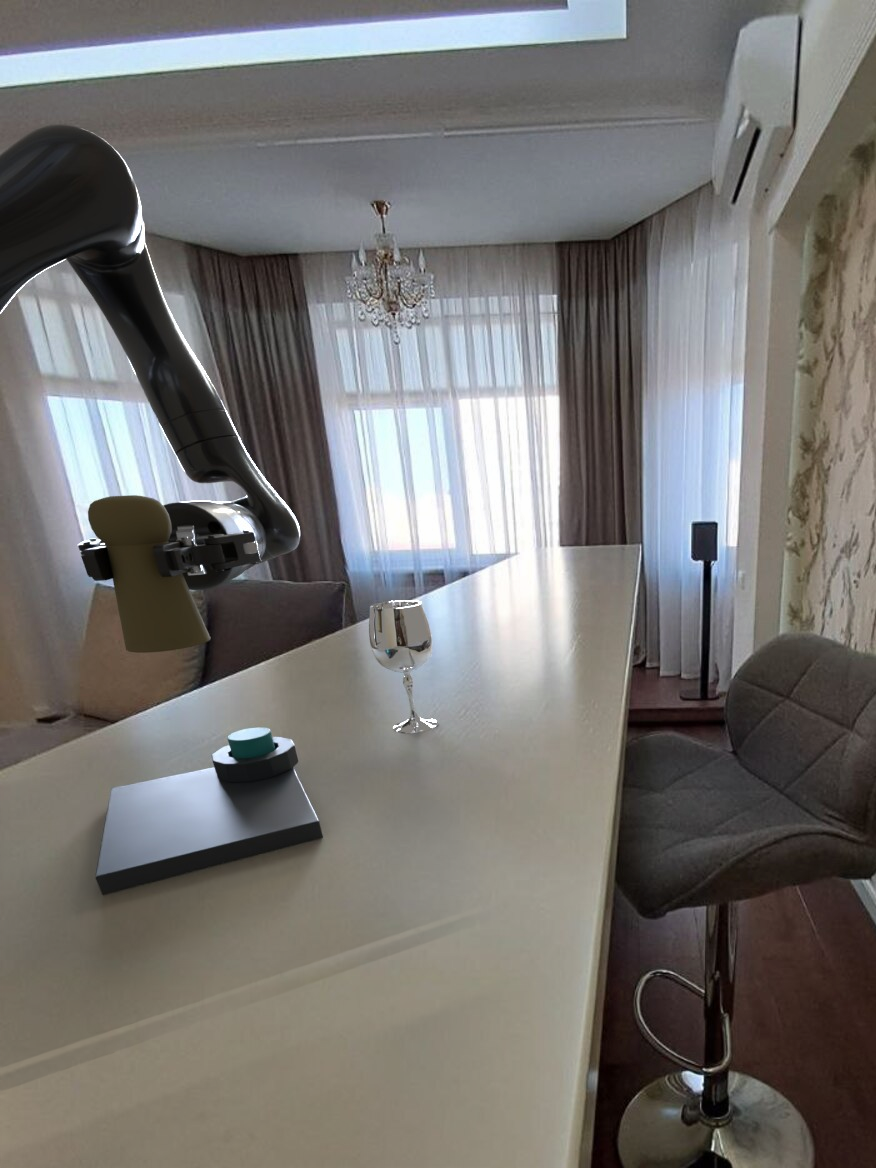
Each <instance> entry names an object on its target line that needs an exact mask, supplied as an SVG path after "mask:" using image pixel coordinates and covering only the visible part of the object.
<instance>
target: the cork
mask: <svg viewBox="0 0 876 1168" xmlns="http://www.w3.org/2000/svg"><path fill="white" fill-rule="evenodd" d="M163 505H164V504H162V503H161V501H159V500H158V499H156V498H153V497H150V496H149V497H148V496H144V495H137V494H135V495H134V494H133V495H112V496H111V495H110V496H106V497H102V498H99V499H95V500H94V501H92V502H91V503H90V504H89V507H88V510H87V519H88V523H89V526H90V528H91V530H92V532H93V533H94V535H95V537H96V539H98V540H101V541H102V542H103V543H104V544H105V545H106V546H107V551H108V557H109V562H110V566H111V570H112V575H113V579H112V583H113V588H114V593H115V599H116V604H117V609H118V615H119V620H120V625H121V630H122V636H123V641H124V648H125V650H126V651H127V652H128V653H137V654H138V653H139V654H142V653H143V654H147V653H163V652H170V651H176V650H182V649H188V648H192V647H197V646H199V645H203V644H206V643H208V642H209V641H211V636H210V633H209V631H208V629H207V627H206V624H205V622H204V620H203V618H202V615H201V613H200V610H199V608H198V605H197V604H196V601H195V599H194V597H193V595H192V592H191V590H189V588H188V585H187V583H186V581H185V579H184V576H183V574H179V575H176V576H172V577H162V576H161V574H160V572H159V569H158V566H157V563H156V559H155V556H154V553H153V547H154V546H156V545H160V544H165V543H169V542H168V539H169V537H170V534H171V532H172V530H171V520H170V517H169V514H168V512H167V510H166V509H165V507H164V506H163Z"/></svg>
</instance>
